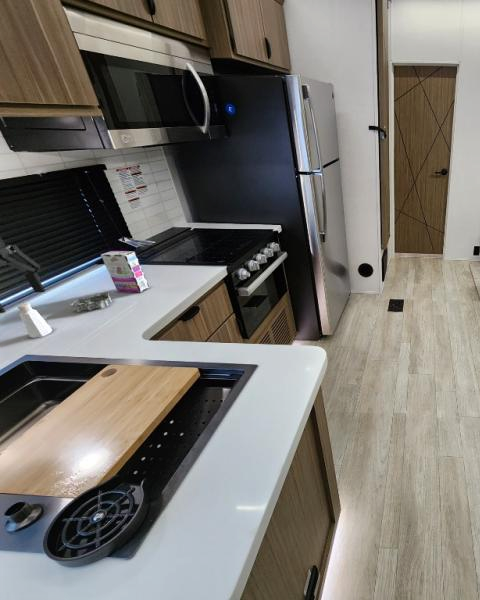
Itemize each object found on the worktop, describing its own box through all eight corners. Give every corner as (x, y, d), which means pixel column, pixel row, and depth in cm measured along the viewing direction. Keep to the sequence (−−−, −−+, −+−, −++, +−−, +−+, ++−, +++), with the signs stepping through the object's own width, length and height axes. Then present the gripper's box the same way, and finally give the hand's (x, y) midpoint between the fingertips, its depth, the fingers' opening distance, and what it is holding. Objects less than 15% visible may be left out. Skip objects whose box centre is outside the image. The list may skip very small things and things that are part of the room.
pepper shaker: (31, 340, 107) (11, 311, 102) (29, 334, 110) (10, 305, 105) (53, 333, 111) (36, 304, 105) (51, 327, 114) (34, 299, 109)
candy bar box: (150, 287, 141) (135, 251, 133) (141, 292, 136) (125, 255, 128) (126, 286, 142) (110, 250, 134) (116, 291, 137) (99, 254, 130)
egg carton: (114, 300, 131) (110, 290, 129) (105, 309, 125) (101, 299, 123) (82, 303, 128) (77, 294, 126) (71, 313, 122) (66, 303, 120)
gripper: (-57, 251, 84) (-7, 321, 94) (32, 224, 106) (66, 283, 116) (-89, 252, 83) (-35, 323, 93) (8, 225, 105) (43, 284, 115)
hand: (21, 301), depth 105 cm, fingers open, 13 cm apart
